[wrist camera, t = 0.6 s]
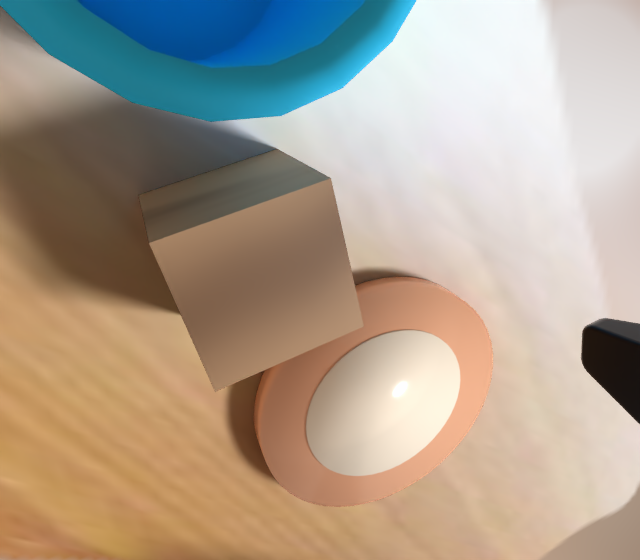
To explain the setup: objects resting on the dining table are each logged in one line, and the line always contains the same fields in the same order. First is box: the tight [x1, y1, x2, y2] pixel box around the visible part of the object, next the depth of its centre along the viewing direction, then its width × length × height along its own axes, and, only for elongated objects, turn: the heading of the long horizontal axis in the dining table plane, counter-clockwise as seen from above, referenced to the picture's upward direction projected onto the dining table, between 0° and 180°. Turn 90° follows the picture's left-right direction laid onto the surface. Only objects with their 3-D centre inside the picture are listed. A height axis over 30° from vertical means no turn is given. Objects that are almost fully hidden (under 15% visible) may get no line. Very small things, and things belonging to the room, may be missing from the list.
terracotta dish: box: [254, 277, 493, 507], centre depth 23 cm, size 12×12×1 cm
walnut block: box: [138, 149, 364, 392], centre depth 16 cm, size 5×5×5 cm
